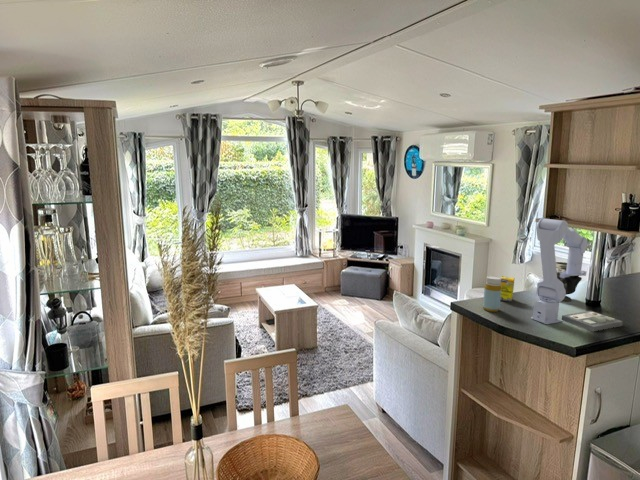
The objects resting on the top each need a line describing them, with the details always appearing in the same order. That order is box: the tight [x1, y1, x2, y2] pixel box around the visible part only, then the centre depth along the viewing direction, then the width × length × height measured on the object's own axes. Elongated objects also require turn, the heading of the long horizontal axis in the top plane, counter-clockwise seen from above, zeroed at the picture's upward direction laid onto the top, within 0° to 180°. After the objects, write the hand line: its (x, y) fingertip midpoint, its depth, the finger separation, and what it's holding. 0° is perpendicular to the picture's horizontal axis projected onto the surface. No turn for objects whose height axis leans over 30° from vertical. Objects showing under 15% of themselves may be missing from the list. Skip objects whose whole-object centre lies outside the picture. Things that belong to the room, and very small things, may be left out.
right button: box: [604, 315, 616, 321], centre depth 185 cm, size 4×4×2 cm
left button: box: [582, 320, 596, 325], centre depth 180 cm, size 4×4×2 cm
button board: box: [561, 310, 623, 332], centre depth 185 cm, size 18×14×2 cm
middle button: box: [592, 316, 606, 323], centre depth 182 cm, size 4×4×2 cm
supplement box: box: [500, 276, 515, 303], centre depth 214 cm, size 6×6×11 cm
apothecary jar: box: [556, 261, 577, 302], centre depth 217 cm, size 12×12×18 cm
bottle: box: [482, 275, 501, 313], centre depth 199 cm, size 7×7×15 cm
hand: (570, 292), depth 197 cm, fingers closed
